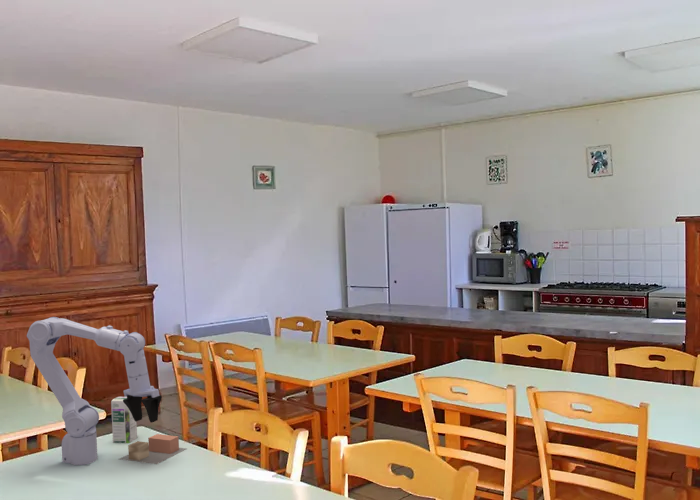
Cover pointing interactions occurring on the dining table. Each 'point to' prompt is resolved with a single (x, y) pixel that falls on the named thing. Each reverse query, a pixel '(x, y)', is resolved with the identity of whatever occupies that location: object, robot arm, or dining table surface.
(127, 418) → the syrup box
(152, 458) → the building plate
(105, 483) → the dining table surface
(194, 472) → the dining table surface
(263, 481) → the dining table surface
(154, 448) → the terracotta brick
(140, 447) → the beech cube
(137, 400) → the robot arm
